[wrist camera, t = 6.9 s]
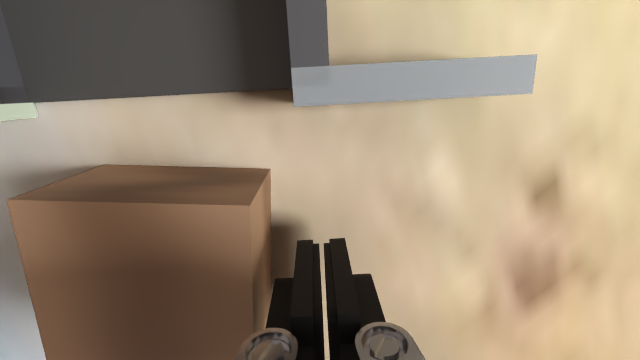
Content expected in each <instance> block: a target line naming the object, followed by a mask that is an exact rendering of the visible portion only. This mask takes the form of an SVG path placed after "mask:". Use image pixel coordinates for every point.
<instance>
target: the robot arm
mask: <svg viewBox="0 0 640 360" xmlns="http://www.w3.org/2000/svg"><path fill="white" fill-rule="evenodd" d="M329 241H330V243H324V259H325V279H326V300H327V319H328V335H329V351H330V360H425V358H424V356H423V355H422V353H421V351H420V350H419V348H418V346H417V345H416V343H415V341H414V340H413V338H412V337H411V336H410V334H409V333H408V332H407V331H406V330H404V329H403V328H401V327H400V326H397V325H395V324H392V323H387V322H386V321H385V318H384V315H383V312H382V308H381V305H380V302H379V299H378V296H377V292H376V289H375V286H374V283H373V279H372V276H371V274H354V275H352V270H351V266H350V261H349V256H348V251H347V247H346V242H345V238H338V239H329ZM234 360H325V357H324V333H323V310H322V291H321V273H320V254H319V244H313V240H300V241H297V250H296V260H295V269H294V278H279V279H275V282H274V287H273V292H272V297H271V302H270V307H269V312H268V317H267V322H266V327H265V329H263V330H259V331H257V332H255V333H254V334H252V335H250V336H249V337H248V338H247V339H246V340H245V341H244V342H243V344H242V345H241V347H240V349H239V351H238V353H237V355H236V357H235V359H234Z"/></svg>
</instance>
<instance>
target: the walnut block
mask: <svg viewBox="0 0 640 360" xmlns="http://www.w3.org/2000/svg"><path fill="white" fill-rule="evenodd" d="M7 204H8V208H9V212H10V216H11V220H12V224H13V228H14V232H15V236H16V240H17V244H18V248H19V252H20V256H21V260H22V264H23V268H24V272H25V276H26V280H27V284H28V288H29V292H30V296H31V300H32V304H33V308H34V312H35V316H36V320H37V324H38V328H39V332H40V336H41V340H42V344H43V348H44V352H45V356H46V360H234V359H235V357H236V355H237V353H238V351H239V349H240V347H241V345H242V344H243V342H244V341H245V340H246V339H247V338H248V337H249V336H250V335H252V334H254V333H255V332H257V331H259V330H263V329H265V327H266V322H267V317H268V312H269V307H270V302H271V297H272V268H271V177H270V169H255V168H216V167H178V166H140V165H102V166H99V167H96V168H94V169H91V170H88V171H85V172H82V173H80V174H77V175H74V176H71V177H69V178H66V179H63V180H60V181H57V182H55V183H52V184H49V185H46V186H43V187H41V188H38V189H35V190H32V191H29V192H27V193H24V194H21V195H18V196H16V197H13V198H10V199H7Z"/></svg>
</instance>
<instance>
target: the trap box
mask: <svg viewBox="0 0 640 360" xmlns="http://www.w3.org/2000/svg"><path fill="white" fill-rule="evenodd" d="M536 60H537V54H535V55H517V56H499V57H481V58H462V59H444V60H426V61H408V62H390V63H371V64H353V65H335V66H329V54H328V31H327V7H326V0H0V121H8V120H18V119H28V118H37V117H38V114H37V111H36V107H35V104H34V103H35V102H53V101H72V100H90V99H108V98H126V97H144V96H162V95H180V94H199V93H217V92H235V91H253V90H271V89H289V88H293V101H294V107H299V106H318V105H336V104H354V103H372V102H390V101H408V100H426V99H444V98H462V97H480V96H498V95H516V94H532V92H533V84H534V76H535V68H536Z"/></svg>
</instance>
